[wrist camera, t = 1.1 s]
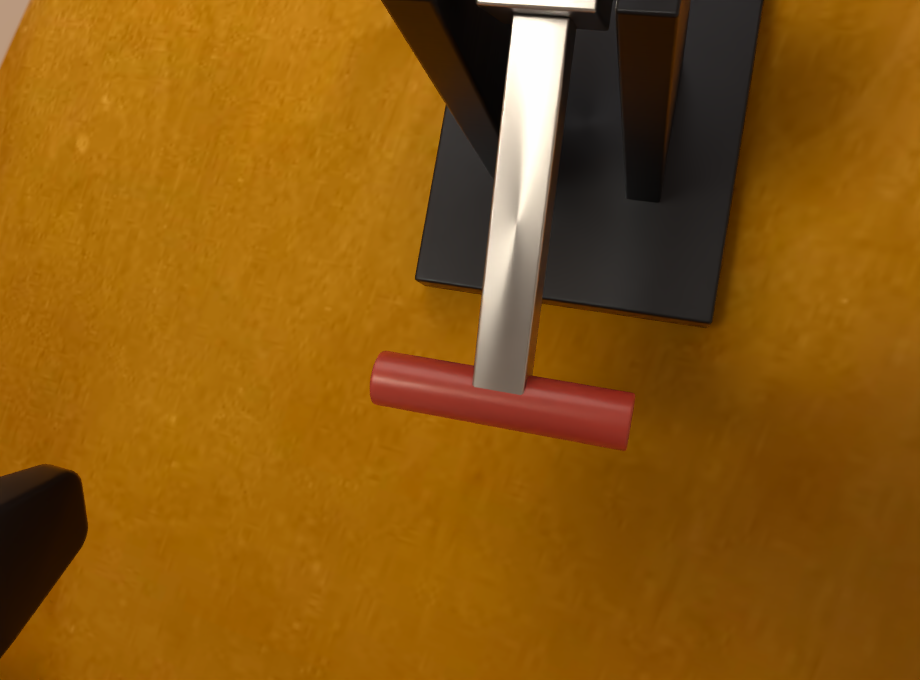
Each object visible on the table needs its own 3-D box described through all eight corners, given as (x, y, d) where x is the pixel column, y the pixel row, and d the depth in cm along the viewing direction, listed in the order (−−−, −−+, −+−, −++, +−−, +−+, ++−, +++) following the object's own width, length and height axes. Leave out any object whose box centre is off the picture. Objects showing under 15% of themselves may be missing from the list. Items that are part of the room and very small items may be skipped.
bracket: (708, 328, 24) (782, 242, 12) (423, 286, 26) (232, 173, 14) (765, -24, 25) (891, -457, 13) (481, -40, 27) (347, -427, 15)
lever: (629, 430, 18) (622, 471, 16) (394, 388, 19) (356, 420, 17) (719, -122, 15) (726, -168, 13) (437, -130, 16) (398, -173, 14)
